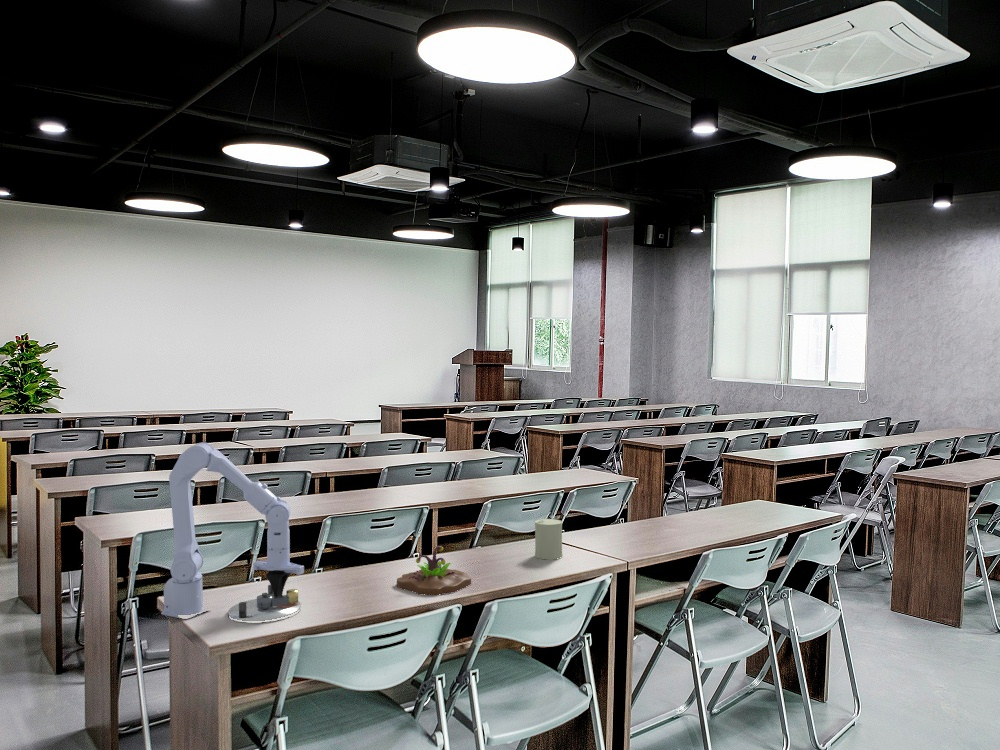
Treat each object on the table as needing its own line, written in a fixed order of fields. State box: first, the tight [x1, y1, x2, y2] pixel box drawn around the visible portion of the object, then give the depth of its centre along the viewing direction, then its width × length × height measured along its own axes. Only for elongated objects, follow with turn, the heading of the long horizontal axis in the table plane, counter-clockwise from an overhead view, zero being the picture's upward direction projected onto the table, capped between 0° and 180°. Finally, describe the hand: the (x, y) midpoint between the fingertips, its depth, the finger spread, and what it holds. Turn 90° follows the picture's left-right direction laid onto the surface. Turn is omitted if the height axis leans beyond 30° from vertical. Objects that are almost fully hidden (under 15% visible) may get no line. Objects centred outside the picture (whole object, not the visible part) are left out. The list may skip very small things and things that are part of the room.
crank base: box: [227, 584, 302, 621], centre depth 197 cm, size 18×18×5 cm
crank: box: [256, 588, 299, 609], centre depth 198 cm, size 10×4×3 cm, turn 113°
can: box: [534, 518, 564, 561], centre depth 251 cm, size 9×9×12 cm
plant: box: [396, 545, 472, 596], centre depth 220 cm, size 20×20×11 cm
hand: (278, 598), depth 200 cm, fingers closed, pressing on crank
